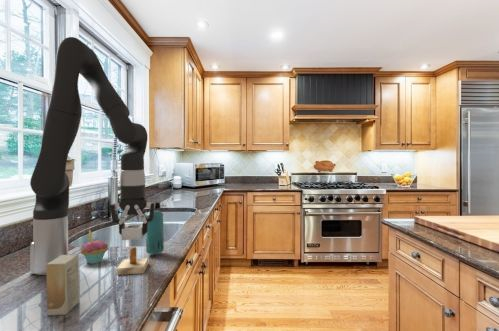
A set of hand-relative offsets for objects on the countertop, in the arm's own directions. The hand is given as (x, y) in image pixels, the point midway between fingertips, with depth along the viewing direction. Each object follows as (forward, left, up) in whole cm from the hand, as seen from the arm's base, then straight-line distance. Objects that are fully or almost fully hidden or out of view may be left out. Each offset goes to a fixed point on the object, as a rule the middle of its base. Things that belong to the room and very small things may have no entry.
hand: (133, 234), depth 93 cm
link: (0, 0, -1) cm, 1 cm away
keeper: (0, 0, -11) cm, 11 cm away
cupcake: (-15, +10, -12) cm, 21 cm away
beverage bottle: (+5, +13, -12) cm, 18 cm away
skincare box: (-11, -23, -12) cm, 28 cm away
